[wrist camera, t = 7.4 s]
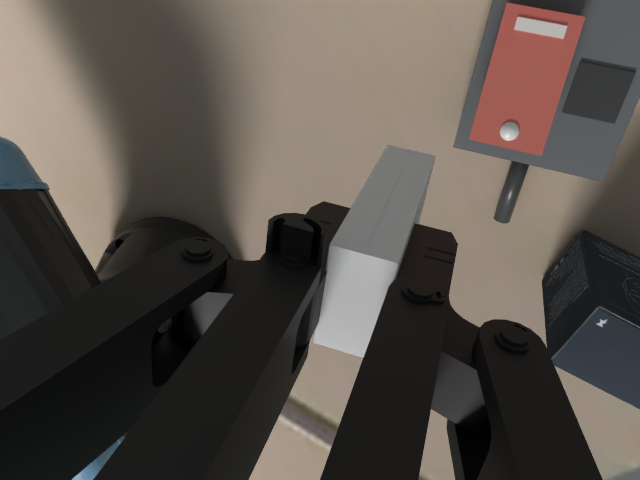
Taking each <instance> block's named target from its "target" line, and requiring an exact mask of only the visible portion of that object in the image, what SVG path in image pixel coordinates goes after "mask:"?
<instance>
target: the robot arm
mask: <svg viewBox="0 0 640 480" xmlns="http://www.w3.org/2000/svg"><path fill="white" fill-rule="evenodd" d="M435 157H436V156H434V155H430V154H425V153H421V152H417V151H412V150H408V149H404V148H399V147H395V146H391V145H387V147H386V148H385V150H384V152H383V154H382V155H381V157H380V159H379V160H378V162H377V164H376V166H375V167H374V169H373V171H372V173H371V174H370V176H369V178H368V179H367V181H366V183H365V185H364V186H363V188H362V190H361V191H360V193H359V195H358V197H357V198H356V200H355V202H354V203H353V205H352V207H351V208H347V207H343V206H340V205H336V204H332V203H328V202H321V203H319V204H317V205H315V206H313V207H311V208H310V209H309V211H308V212H307V213H306V215H305V214H298V213H284V214H280V215H276V216H274V217H272V218H271V219H270V220H269V221H268V232H267V242H266V252H265V253H264V255H263V256H262V257H261V259H260V260H256V261H242V260H233V259H232V258H231V256H230V255H229V254H228V251H227V249H226V248H225V246H224V245H222V244H221V243H219V242H218V241H216V240H215V239H213V238H212V237H211V236H209V235H208V234H207V233H205V232H204V231H202V230H200V229H199V228H197V227H195V226H193V225H191V224H188V223H186V222H183V221H180V220H176V219H171V218H162V217H156V218H148V219H143V220H140V221H138V222H136V223H134V224H132V225H131V226H129V227H128V228H126V229H125V230H124V231H123V232H121V233H120V234H119V235H118V236H116V237H115V238H114V239H113V240H112V241H111V243H110V244H109V245H108V247H107V248H106V250H105V252H104V254H103V256H102V258H101V260H100V262H99V264H98V265H97V267H96V269H95V270H94V269H93V267H92V265H91V264H90V262H89V260H88V259H87V257H86V255H85V253H84V252H83V250H82V248H81V247H80V245H79V243H78V242H77V240H76V238H75V237H74V235H73V233H72V232H71V230H70V228H69V226H68V225H67V223H66V221H65V219H64V218H63V216H62V214H61V212H60V211H59V209H58V207H57V205H56V203H55V202H54V200H53V198H52V196H51V195H50V193H49V191H48V190H49V187H48V185H47V184H46V183H44V182H42V180H41V179H40V177H39V176H38V174H37V173H36V171H35V170H34V168H33V167H32V166H31V164H30V163H29V161H28V159H27V158H26V156H25V155H24V153H23V152H22V150H21V149H20V148H19V147H18V146H17V145H16V144H15V143H13V142H12V141H10V140H8V139H5V138H2V137H0V480H249V477H250V475H251V473H252V471H253V469H254V467H255V465H256V463H257V461H258V459H259V456H260V454H261V452H262V450H263V448H264V446H265V444H266V442H267V440H268V438H269V436H270V433H271V431H272V429H273V427H274V425H275V423H276V421H277V419H278V417H279V415H280V413H281V410H282V408H283V406H284V404H285V402H286V400H287V398H288V396H289V394H290V392H291V389H292V387H293V385H294V383H295V381H296V379H297V377H298V375H299V373H300V371H301V369H302V366H303V364H304V362H305V360H306V358H307V355H308V348H309V342H310V339H311V337H312V335H313V333H314V331H315V336H314V342H313V343H316V344H320V345H323V346H326V347H329V348H333V349H336V350H339V351H343V352H346V353H349V354H352V355H356V356H359V357H362V358H363V361H362V363H361V366H360V369H359V372H358V375H357V378H356V380H355V383H354V386H353V389H352V392H351V394H350V397H349V400H348V403H347V406H346V408H345V411H344V414H343V417H342V420H341V423H340V425H339V428H338V431H337V434H336V437H335V439H334V442H333V445H332V448H331V451H330V453H329V456H328V459H327V462H326V465H325V468H324V470H323V473H322V476H321V479H320V480H418V478H419V472H420V466H421V461H422V455H423V450H424V444H425V438H426V433H427V427H428V422H429V416H430V410H431V409H432V410H434V411H436V412H437V413H439V414H441V415H442V416H444V417H446V418H447V433H448V439H449V444H450V450H451V456H452V462H453V468H454V474H455V480H602V477H601V475H600V473H599V470H598V468H597V465H596V463H595V461H594V458H593V456H592V454H591V451H590V449H589V447H588V444H587V442H586V440H585V437H584V435H583V433H582V430H581V428H580V425H579V423H578V421H577V418H576V416H575V414H574V411H573V409H572V407H571V404H570V402H569V400H568V397H567V395H566V392H565V390H564V388H563V385H562V383H561V381H560V378H559V376H558V374H557V371H556V369H555V367H554V364H553V362H552V360H551V357H550V355H549V352H548V350H547V348H546V345H545V344H544V342H543V341H542V340H541V338H540V337H539V336H538V335H537V334H536V333H534V332H533V331H532V330H531V329H529V328H527V327H525V326H523V325H521V324H519V323H516V322H512V321H508V320H490V321H487V322H485V323H484V324H483V325H482V326H481V327H478V326H476V325H474V324H472V323H470V322H468V321H467V320H465V319H463V318H462V317H461V316H460V315H458V314H457V313H456V312H455V311H454V309H453V308H452V307H451V305H450V301H449V290H450V285H451V279H452V274H453V268H454V262H455V256H456V251H457V246H458V243H457V242H456V240H455V238H454V236H453V234H452V233H451V232H447V231H443V230H439V229H435V228H431V227H427V226H423V225H419V220H420V216H421V212H422V208H423V204H424V200H425V196H426V192H427V188H428V184H429V180H430V176H431V172H432V169H433V165H434V161H435ZM315 329H316V330H315Z"/></svg>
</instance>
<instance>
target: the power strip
mask: <svg viewBox="0 0 640 480" xmlns="http://www.w3.org/2000/svg"><path fill="white" fill-rule="evenodd" d="M506 3H513V4H518V5H524V6H529V7H535V8H540V9H546V10H551V11H557V12H562V13H568V14H573V15H579V16H584V17H585V20H584V23H583V27H582V30H581V33H580V36H579V39H578V42H577V46H576V49H575V52H574V55H573V58H572V61H571V65H570V68H569V71H568V74H567V77H566V80H565V83H564V87H563V90H562V93H561V96H560V99H559V102H558V106H557V109H556V112H555V115H554V118H553V121H552V125H551V128H550V131H549V134H548V137H547V140H546V143H545V147H544V150H543V153H542V156H539V155H534V154H530V153H526V152H521V151H517V150H512V149H508V148H504V147H499V146H495V145H491V144H486V143H482V142H477V141H473V140H469V135H470V132H471V128H472V124H473V121H474V117H475V114H476V110H477V106H478V103H479V99H480V96H481V92H482V88H483V85H484V81H485V78H486V74H487V70H488V67H489V63H490V60H491V56H492V52H493V49H494V45H495V42H496V38H497V34H498V31H499V27H500V24H501V20H502V17H503V13H504V9H505V6H506ZM639 98H640V0H493V2H492V5H491V9H490V13H489V17H488V20H487V24H486V28H485V31H484V35H483V39H482V42H481V46H480V50H479V54H478V57H477V61H476V65H475V68H474V72H473V76H472V79H471V83H470V87H469V91H468V94H467V98H466V102H465V105H464V109H463V113H462V116H461V120H460V124H459V128H458V131H457V135H456V139H455V142H454V146H453V147H455V148H459V149H463V150H468V151H472V152H476V153H481V154H485V155H489V156H494V157H498V158H502V159H507V160H511V161H512V164H511V167H510V170H509V173H508V176H507V179H506V182H505V185H504V188H503V191H502V194H501V197H500V200H499V203H498V206H497V209H496V212H495V215H494V219H495V220H496V221H498V222H500V223H509V221H510V218H511V215H512V212H513V209H514V207H515V204H516V201H517V198H518V195H519V192H520V189H521V187H522V184H523V181H524V178H525V175H526V172H527V169H528V166H529V165H533V166H537V167H541V168H546V169H550V170H554V171H558V172H563V173H567V174H571V175H576V176H580V177H584V178H589V179H593V180H597V181H602V182H604V180H605V177H606V175H607V173H608V170H609V168H610V166H611V163H612V161H613V159H614V156H615V154H616V152H617V149H618V147H619V145H620V142H621V140H622V138H623V135H624V133H625V131H626V128H627V126H628V124H629V121H630V119H631V117H632V114H633V112H634V110H635V107H636V105H637V103H638V100H639Z"/></svg>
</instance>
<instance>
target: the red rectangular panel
mask: <svg viewBox="0 0 640 480" xmlns="http://www.w3.org/2000/svg"><path fill="white" fill-rule="evenodd" d="M584 20H585V17H584V16H579V15H573V14H568V13H562V12H557V11H551V10H546V9H540V8H535V7H529V6H524V5H518V4H513V3H506V6H505V9H504V13H503V17H502V20H501V24H500V27H499V31H498V34H497V38H496V42H495V45H494V49H493V52H492V56H491V60H490V63H489V67H488V70H487V74H486V78H485V81H484V85H483V88H482V92H481V96H480V99H479V103H478V106H477V110H476V114H475V117H474V121H473V124H472V128H471V132H470V135H469V140H473V141H477V142H482V143H486V144H491V145H495V146H499V147H504V148H508V149H512V150H517V151H521V152H526V153H530V154H534V155H539V156H542V153H543V150H544V147H545V143H546V140H547V137H548V134H549V131H550V128H551V125H552V121H553V118H554V115H555V112H556V109H557V106H558V102H559V99H560V96H561V93H562V90H563V87H564V83H565V80H566V77H567V74H568V71H569V68H570V65H571V61H572V58H573V55H574V52H575V49H576V46H577V42H578V39H579V36H580V33H581V30H582V27H583V23H584Z"/></svg>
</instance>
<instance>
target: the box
mask: <svg viewBox="0 0 640 480" xmlns="http://www.w3.org/2000/svg"><path fill="white" fill-rule="evenodd" d="M542 289H543V304H544V314H545V328H546V341H547V350H548V352H549V355H550V357H551V360H552V362H553V364H554V366H556V367H558V368H560V369H562V370H564V371H566V372H568V373H570V374H572V375H574V376H576V377H578V378H580V379H582V380H584V381H586V382H588V383H590V384H592V385H594V386H595V387H597V388H599V389H601V390H603V391H605V392H607V393H609V394H611V395H613V396H615V397H617V398H619V399H621V400H623V401H625V402H627V403H628V404H630V405H632V406H634V407H636V408H638V409H640V258H638V257H636V256H634V255H632V254H630V253H628V252H626V251H624V250H622V249H620V248H618V247H616V246H614V245H612V244H610V243H608V242H606V241H604V240H602V239H600V238H598V237H596V236H594V235H592V234H590V233H588V232H586V231H584V230H583V231H581V233H580V234H579V235H578V236H577V237H576V239H575V240H574V241H573V242H572V243H571V245H570V246H569V247H568V248H567V249H566V251H565V252H564V253H563V255H562V256H561V257H560V258H559V259H558V261H557V262H556V263H555V264H554V266H553V267H552V268H551V269H550V271H549V272H548V273H547V274H546V275H545V276H544V278H543V280H542Z"/></svg>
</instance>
